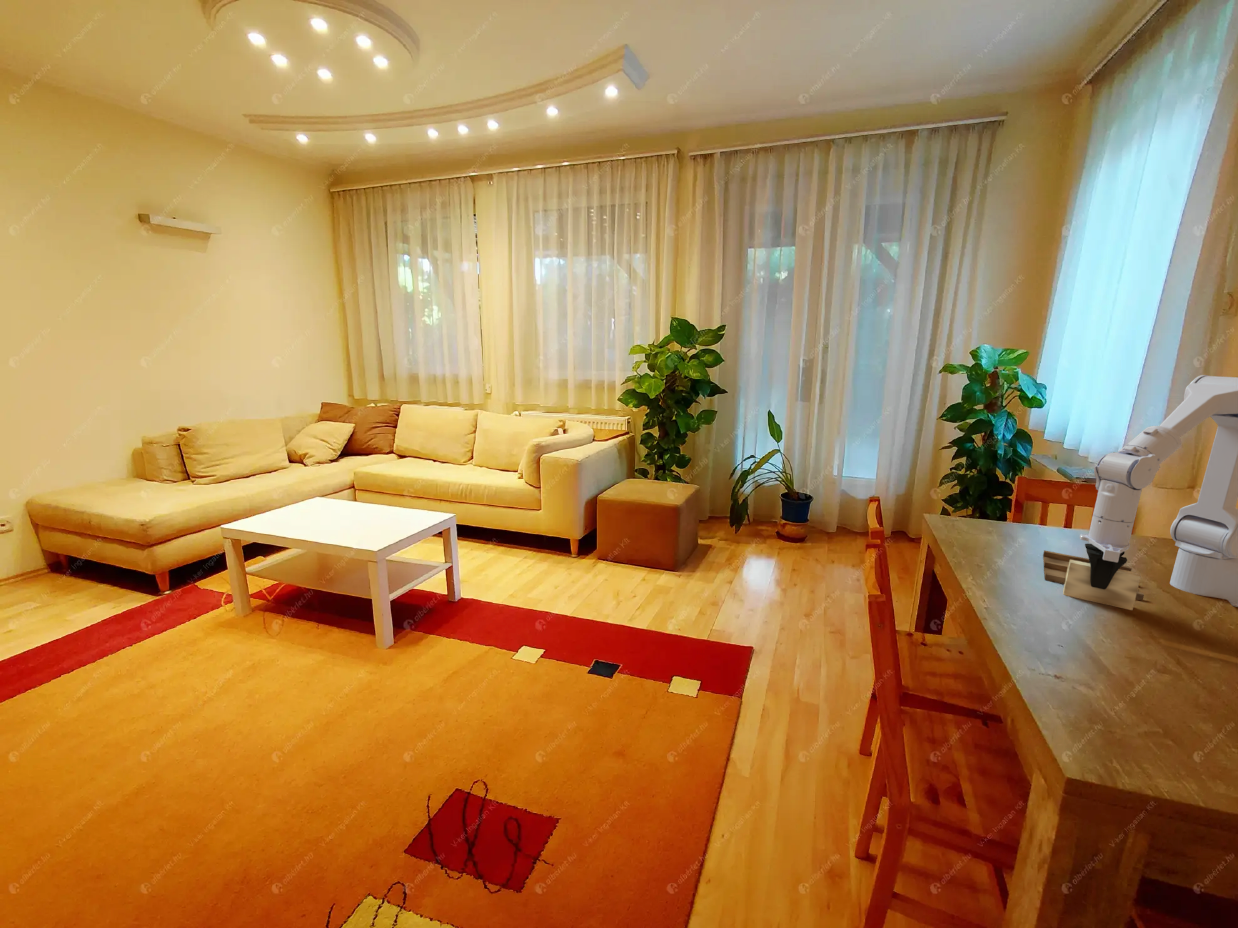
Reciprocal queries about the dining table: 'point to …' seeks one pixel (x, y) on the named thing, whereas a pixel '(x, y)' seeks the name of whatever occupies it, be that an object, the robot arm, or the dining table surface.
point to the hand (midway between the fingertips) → (1097, 585)
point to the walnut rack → (1058, 567)
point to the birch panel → (1116, 593)
